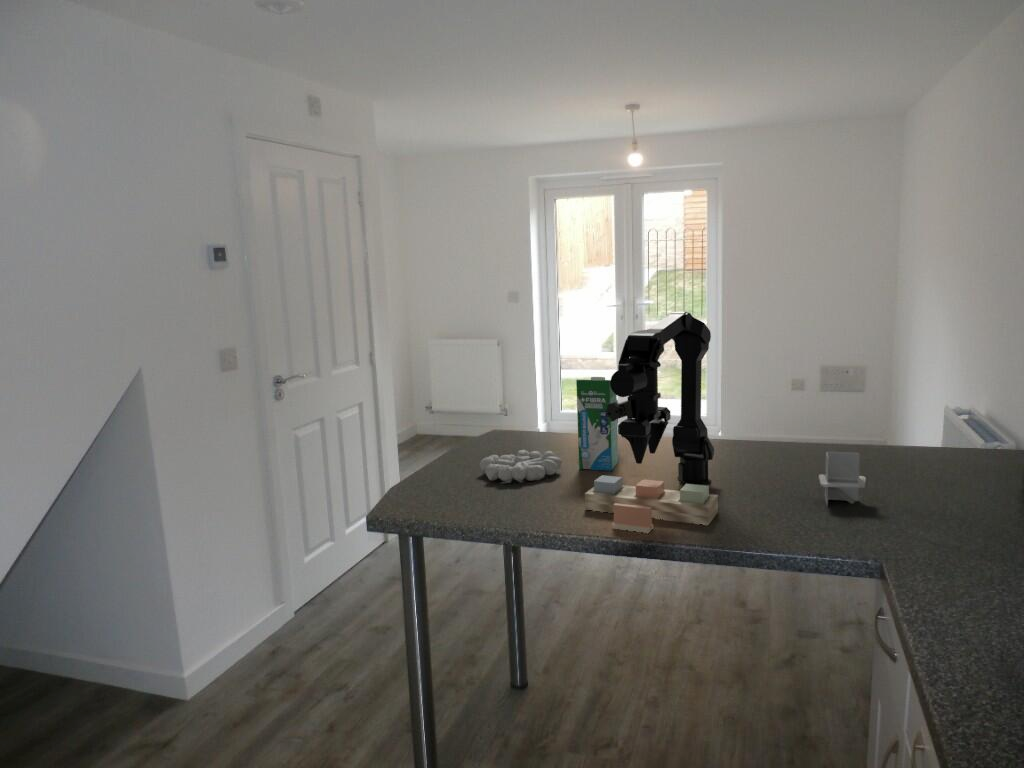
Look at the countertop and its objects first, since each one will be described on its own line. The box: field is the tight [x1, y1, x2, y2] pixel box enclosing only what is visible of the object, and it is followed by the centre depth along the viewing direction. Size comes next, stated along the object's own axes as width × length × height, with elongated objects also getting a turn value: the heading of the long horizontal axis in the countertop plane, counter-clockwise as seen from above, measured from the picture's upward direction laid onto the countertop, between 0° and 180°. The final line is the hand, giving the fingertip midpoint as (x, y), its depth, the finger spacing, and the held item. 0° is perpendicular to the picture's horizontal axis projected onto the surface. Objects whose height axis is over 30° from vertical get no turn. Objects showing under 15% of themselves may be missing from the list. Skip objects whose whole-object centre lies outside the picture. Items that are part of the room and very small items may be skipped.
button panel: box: [584, 484, 719, 526], centre depth 170 cm, size 28×9×4 cm, turn 62°
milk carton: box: [575, 376, 619, 472], centre depth 208 cm, size 9×9×25 cm
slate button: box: [593, 474, 623, 495], centre depth 175 cm, size 5×5×3 cm
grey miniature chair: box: [818, 451, 866, 507], centre depth 169 cm, size 19×21×12 cm
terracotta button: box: [635, 479, 665, 499], centre depth 170 cm, size 5×5×3 cm
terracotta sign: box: [611, 503, 654, 534], centre depth 160 cm, size 8×3×5 cm, turn 62°
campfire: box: [479, 449, 563, 482], centre depth 205 cm, size 22×21×6 cm
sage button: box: [679, 483, 710, 504], centre depth 165 cm, size 5×5×3 cm
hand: (645, 458), depth 169 cm, fingers open, 9 cm apart
